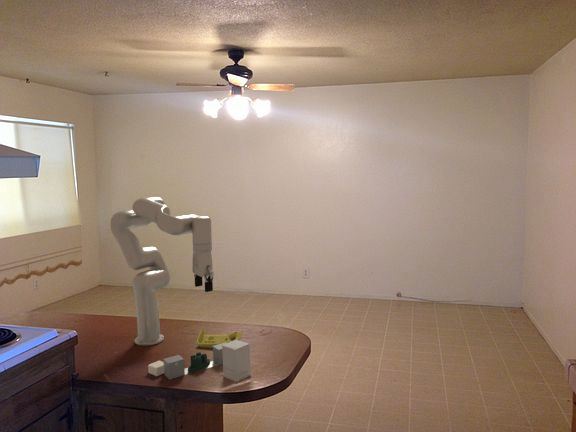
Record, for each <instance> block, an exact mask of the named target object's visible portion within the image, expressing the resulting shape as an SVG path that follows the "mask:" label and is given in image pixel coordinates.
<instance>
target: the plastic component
mask: <svg viewBox="0 0 576 432" xmlns="http://www.w3.org/2000/svg"><path fill="white" fill-rule="evenodd" d="M243 333H244V329H241V331H231V332H229V333H227V334H206V332H205V330H204V329H200V331H199V335H198V336H197V339H196V344H197V346H198V347H199V348H208V349H213V346H215V345H218V344H222V343H229V342H232V341H234V340H239V341H241V340H242V336H243Z"/></svg>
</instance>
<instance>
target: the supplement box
mask: <svg viewBox="0 0 576 432" xmlns="http://www.w3.org/2000/svg"><path fill="white" fill-rule="evenodd" d="M250 349H251V348H250V343H248V342H245V341H242V340H240V341H239V340H234V341H232V342H229V343H227V344H225V345H222V353H223V364H222V372H223V374H222V375H223V377H224V378H225V379H228V380H231V381H233V382H235V383H237V384H239V383H240V382H241V380H244V379H246V378H248V377H249V376H252V373H251V352H250Z"/></svg>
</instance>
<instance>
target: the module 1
mask: <svg viewBox="0 0 576 432" xmlns="http://www.w3.org/2000/svg"><path fill="white" fill-rule="evenodd" d="M162 362H164V373H163V375H164V376H165V377H166V378H167V379H168V380H173V379H175V377H176V378H179V377H182V375H183V376H186V375H185V358H184V357H182V356H181V355H180V354H177V355H172V356H169V357H166V358H163V361H162Z"/></svg>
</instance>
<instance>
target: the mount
mask: <svg viewBox="0 0 576 432" xmlns="http://www.w3.org/2000/svg"><path fill="white" fill-rule="evenodd" d="M210 361H211V360H210V359H209V358H208V354H207V353H205V352H204V353H202V352H201V351H198V352H196V353H195V354H192V355H191V356H190V365H189V366H188V367H187V368H188V373H190V374H195V373H197V372H201V371H203V370H205V369H204V368H205V367H207V366H208V365H209V364H210ZM202 369H203V370H202Z"/></svg>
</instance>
